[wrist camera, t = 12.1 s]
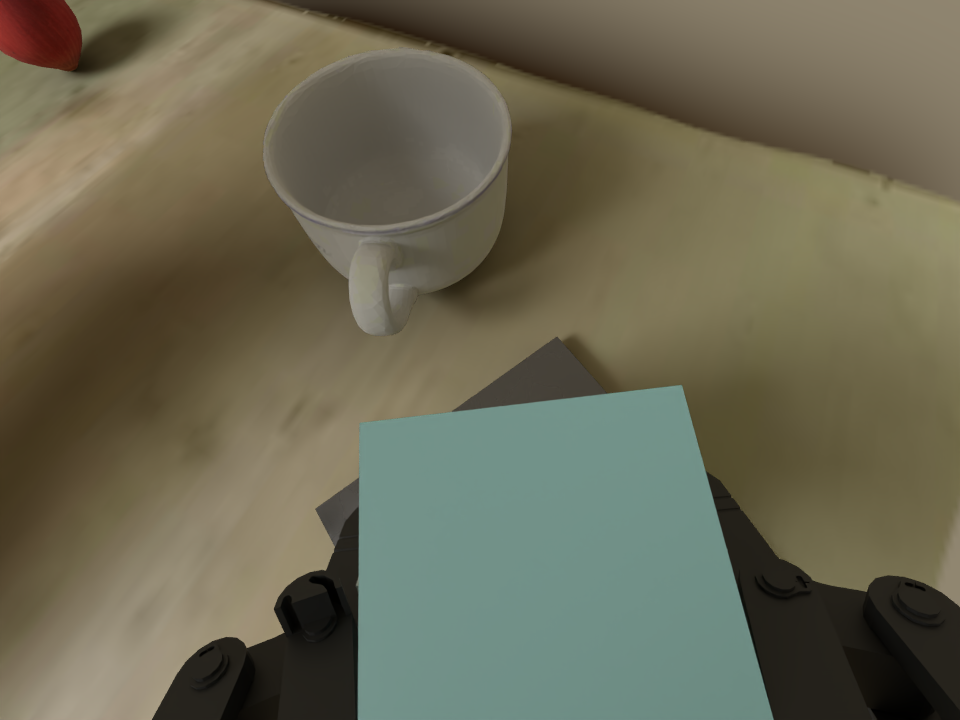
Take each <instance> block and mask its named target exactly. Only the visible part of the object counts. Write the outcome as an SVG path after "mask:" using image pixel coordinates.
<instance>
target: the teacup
mask: <svg viewBox="0 0 960 720" xmlns="http://www.w3.org/2000/svg"><path fill="white" fill-rule="evenodd" d="M511 136H512V125H511V118H510V114H509V110H508V107H507V104H506V102H505V100H504V98H503V96H502V95H501V93H500V92H499V90H498V89H497V87H496V86H495V85H494V84H493V83H492V82H491V80H490V79H489V78H488V77H487V76H485V75H484V74H483V73H482V72H480V71H479V70H477V69H476V68H474V67H473V66H471V65H469V64H467V63H466V62H463V61H461V60H459V59H456V58H454V57H451V56H448V55H444V54H440V53H436V52H432V51H426V50H417V49H412V48H404V47H399V48H396V49H385V50H373V51H367V52H364V53H360V54H356V55H352V56H348V57H346V58H344V59H341V60H339V61H337V62H334V63H332V64H330V65H327V66H325V67H323V68H322V69H320V70H318V71H317V72H315V73H313V74H312V75H310V76H309V77H308V78H307V79H305V80H304V81H302V82H301V83H300V84H298V85H297V86H296V87H294V88H293V90H292V91H291V92H290V93H289V94H288V95H287V96H286V97H285V98H284V99H283V101H282V102H281V103H280V104H279V105H278V107H277V108H276V110H275V111H274V113H273V115H272V118H271V119H270V121H269V123H268V126H267V128H266V131H265V138H264V141H263V145H264V149H263V153H264V154H263V161H264V168H265V172H266V175H267V177H268V180H269V182H270V183H271V185H272V186H273V188H274V190H275V191H276V193H277V194H278V196H279V197H280V198H281V199H282V201H283V202H284V203H285V204H286V205H287V206H288V207H289V208H290V209H291V210H292V212H293V214H294V215H295V217H296V218H297V220H298V222H299V223H300V224H301V226H302V227H303V229H304V230H305V232H306V233H307V235H308V236H309V238H310V239H311V241H312V242H313V243H314V245H315V246H316V248H317V249H318V250H319V251H320V253H321V254H322V255H323V256H324V258H325V259H326V260H327V261H328V262H329V263H330V264H331V266H332V267H334V268H335V269H336V270H337V271H338V272H339V273H341V274H342V275H343V276H344V277H346V278H347V279H349V299H350V304H351V308H352V312H353V316H354V318H355V320H356V322H357V324H358V326H359V327H360V328H361V329H362V330H363V331H364V332H365V333H368V334H371V335H375V336H387V335H393V334H396V333H398V332H400V331H401V330H402V329H403V327H404V326H405V325H406V323H407V320H408V317H409V315H410V311H411V308H412V305H413V304H414V303H415V302H416V299H417V295H420V294H426V293H430V292H434V291H438V290H441V289H443V288H446V287H448V286H450V285H452V284H454V283H456V282H458V281H459V280H461V279H463V278H464V277H466V276H467V275H468V274H470V273H471V272H472V271H473V270H474V269H475V268H476V267H477V266H478V265H479V264H481V263H482V261H483V260H484V259H485V258H486V256H487V255H488V253H489V252H490V250H491V249H492V247H493V245H494V244H495V241H496V239H497V237H498V234H499V232H500V229H501V225H502V221H503V217H504V211H505V202H506V193H507V177H508V154H509V150H510V145H511Z"/></svg>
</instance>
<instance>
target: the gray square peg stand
mask: <svg viewBox="0 0 960 720" xmlns="http://www.w3.org/2000/svg"><path fill="white" fill-rule="evenodd" d="M601 394H607V393H606V392H605V390H604V389H603V388H602V387H601V386H600V385H599V384H598V382H597V381H596V380H595V379H594V378H593V377H592V376H591V375H590V373H589V372H588V371H587V370H586V369H585V368H584V367H583V365H582V364H581V363H580V362H579V361H578V360H577V359H576V357H575V356H574V355H573V354H572V353H571V352H570V351H569V350H568V348H567V347H566V346H565V345H564V344H563V343H562V342H561V340H560V339H559V338H558V337H556V338H554V339H553V340H552V341H550V342H549V343H547V344H546V345H545V346H543V347H542V348H540V349H539V350H537V351H536V352H535V353H533V354H532V355H530V356H529V357H528V358H526V359H525V360H523V361H522V362H521V363H519V364H518V365H516V366H515V367H514V368H512V369H511V370H509V371H508V372H507V373H505V374H504V375H502V376H501V377H500V378H498V379H497V380H495V381H494V382H493V383H491V384H490V385H488V386H487V387H486V388H484V389H483V390H481V391H480V392H479V393H477V394H476V395H474V396H473V397H472V398H470V399H469V400H467V401H466V402H465V403H463V404H462V405H460V406H459V407H458V408H456V409H455V410H453V411H452V412H457V411H465V410H474V409H482V408H491V407H499V406H508V405H516V404H525V403H533V402H542V401H550V400H559V399H567V398H576V397H584V396H593V395H601ZM357 507H359V478H358V479H357V480H355V481H354V482H352V483H351V484H350V485H348V486H347V487H345V488H344V489H343V490H341V491H340V492H338V493H337V494H336V495H334V496H333V497H331V498H330V499H329V500H327V501H326V502H324V503H323V504H321V505H320V506H319V507H317V508H316V511H317V513H318V515H319V517H320V519H321V521H322V523H323V525H324V527H325V529H326V530H327V532H328V534H329V536H330V538H331V540H332V542H333V544H334V546H336V543H337V541H338V540H339V536H340V533H341V530H342V528H343V525H344V523H345V521H346V520H347V519H348V517H349V516H350V515H351V514H352V513H353V512H354V510H355V509H356V508H357Z"/></svg>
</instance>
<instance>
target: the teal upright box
mask: <svg viewBox="0 0 960 720" xmlns="http://www.w3.org/2000/svg"><path fill="white" fill-rule="evenodd" d="M358 720H774V719H773V716H772V712H771V708H770V705H769V701H768V697H767V694H766V690H765V687H764V683H763V679H762V676H761V672H760V668H759V665H758V661H757V657H756V654H755V650H754V646H753V643H752V639H751V635H750V632H749V628H748V624H747V621H746V617H745V614H744V610H743V606H742V603H741V599H740V595H739V592H738V588H737V584H736V581H735V577H734V573H733V570H732V566H731V562H730V559H729V555H728V552H727V548H726V544H725V541H724V537H723V533H722V530H721V526H720V522H719V519H718V515H717V511H716V508H715V504H714V500H713V497H712V493H711V490H710V486H709V482H708V479H707V475H706V471H705V468H704V464H703V460H702V457H701V453H700V449H699V446H698V442H697V438H696V435H695V431H694V428H693V424H692V420H691V417H690V413H689V409H688V406H687V402H686V398H685V395H684V391H683V387H682V385H677V386H669V387H661V388H652V389H644V390H635V391H627V392H618V393H610V394H601V395H593V396H584V397H576V398H567V399H559V400H550V401H542V402H533V403H525V404H516V405H508V406H499V407H491V408H482V409H474V410H465V411H457V412H448V413H440V414H431V415H423V416H414V417H406V418H397V419H389V420H380V421H372V422H363V423H360V435H359V599H358Z"/></svg>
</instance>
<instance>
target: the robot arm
mask: <svg viewBox="0 0 960 720" xmlns="http://www.w3.org/2000/svg"><path fill="white" fill-rule="evenodd" d="M706 475H707V479H708V482H709V486H710V490H711V493H712V497H713V500H714V504H715V508H716V511H717V515H718V519H719V522H720V526H721V530H722V533H723V537H724V541H725V544H726V548H727V552H728V555H729V559H730V562H731V566H732V570H733V573H734V577H735V581H736V584H737V588H738V592H739V595H740V599H741V603H742V606H743V610H744V614H745V617H746V621H747V624H748V628H749V632H750V635H751V639H752V643H753V646H754V650H755V654H756V657H757V661H758V665H759V668H760V672H761V676H762V679H763V683H764V687H765V690H766V694H767V697H768V701H769V705H770V708H771V712H772V716H773V719H774V720H960V607H959V606H958V605H957V604H955V603H954V602H953V601H952V600H950V599H949V598H948V597H947V596H945V595H944V594H943V593H941V592H939V591H938V590H936V589H934V588H932V587H930V586H928V585H926V584H924V583H922V582H919V581H915V580H912V579H909V578H906V577H899V576H889V575H888V576H884V577H879V578H876V579H875V580H874V581H873V582H872V583H871V584H870V585H869V587H868V591H867V592H865V591H859V590H853V589H847V588H841V587H835V586H830V585H826V584H822V583H818V582H815V581H812V579H811V577H809V576H808V575H807V574H806V573H805V572H803V571H802V570H801V569H800V568H799V567H797V566H795V565H793V564H791V563H789V562H787V561H785V560H782V559H779V558H778V557H777V556H776V555H775V553H774V552H773V551H772V549H771V548H770V547H769V545H768V544H767V543H766V541H765V540H764V539H763V537H762V536H761V535H760V533H759V532H758V531H757V529H756V528H755V527H754V525H753V524H752V523H751V521H750V520H749V519H748V517H747V516H746V515H745V513H744V512H743V511H741V510H740V507H739V505H738V504H737V503H736V501H735V500H734V499H733V498H731V495H730V493H729V492H728V491H727V489H726V488H725V487H724V485H723V484H722V483H721V481H719V480H718V479H717V478H715V477H714V476H712V475H711V474H709V473H708V472H706ZM358 599H359V507H357V508H356V509H355V510H354V512H353V513H352V514H351V515H350V516H349V517H348V519H347V520H346V521H345V523H344V525H343V528H342V530H341V533H340V536H339V540H338V541H337V543H336V546H335V549H334V553H333V554H332V557H331V559H330V562H329V564H328V567H327V570H326V571H324V570H320V571H314V572H310V573H307V574H305V575H303V576H301V577H299V578H297V579H296V580H295V581H293V582H292V583H291V584H290V585H288V586H287V587H286V588H285V589H284V591H283V592H282V593H281V595H280V596H279V597H278V599H277V602H276V605H275V607H274V611H275V613H276V615H277V617H278V620H279V622H280V624H281V626H282V628H283V630H284V632H285V633H283V634H281V635H279V636H277V637H275V638H272V639H270V640H267V641H264V642H262V643H259V644H257V645H254V646H252V647H249V648H246V646H245V644H244V643H243V642H242V641H241V640H239V639H238V638H233V637H225V638H221V639H218V640H215V641H212V642H211V643H209V644H207V645H206V646H204V647H202V648H201V649H199V650H198V651H197V652H196V653H195V654H194V655H192V656H191V657H190V658H189V659H188V660H187V661H186V662H185V664H184V665H183V666H182V668H181V669H180V671H179V672H178V673H177V675H176V677H175V679H174V680H173V682H172V684H171V686H170V688H169V690H168V691H167V693H166V695H165V697H164V699H163V700H162V702H161V704H160V706H159V708H158V710H157V711H156V713H155V715H154V717H153V719H152V720H358Z"/></svg>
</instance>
